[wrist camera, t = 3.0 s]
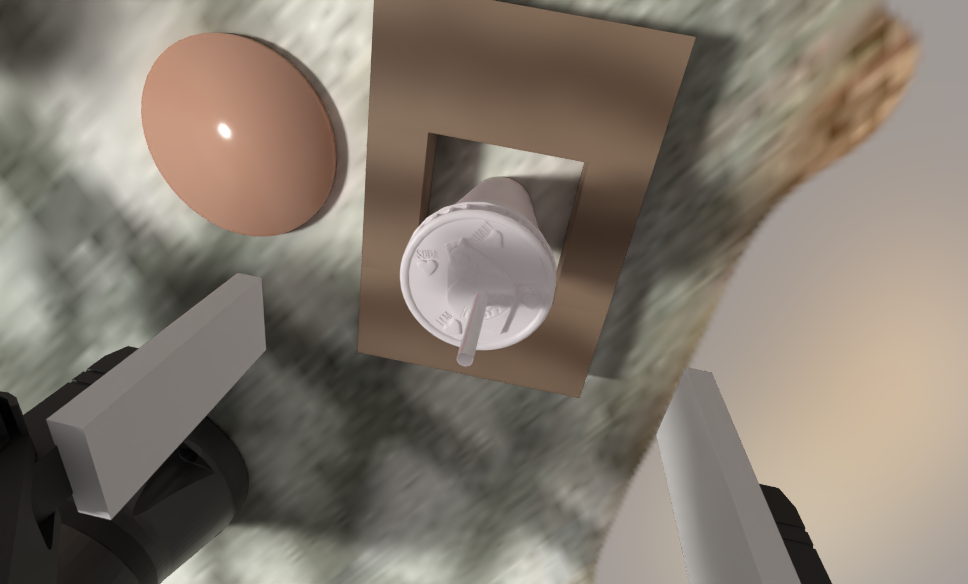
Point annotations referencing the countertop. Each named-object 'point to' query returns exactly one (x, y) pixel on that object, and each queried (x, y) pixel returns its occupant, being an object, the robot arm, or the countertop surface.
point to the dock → (519, 125)
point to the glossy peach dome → (239, 133)
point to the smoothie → (480, 270)
